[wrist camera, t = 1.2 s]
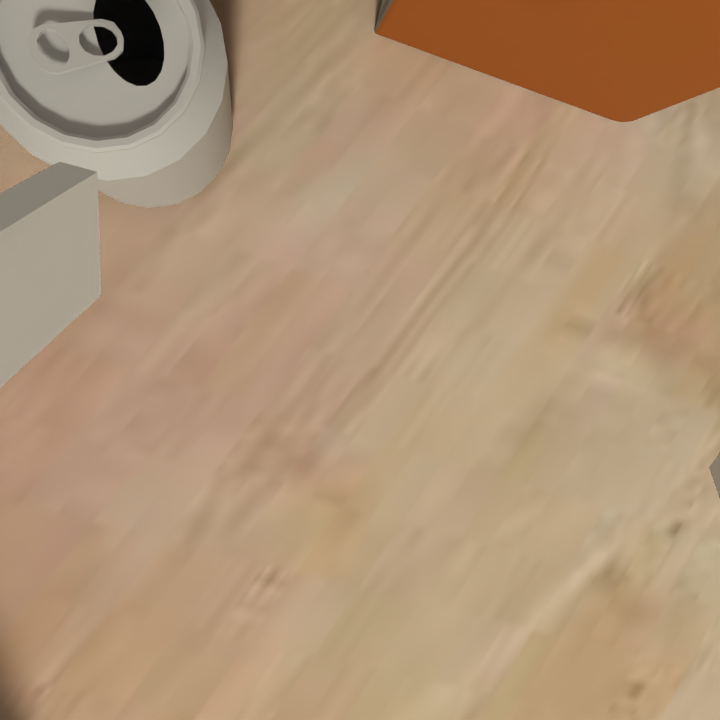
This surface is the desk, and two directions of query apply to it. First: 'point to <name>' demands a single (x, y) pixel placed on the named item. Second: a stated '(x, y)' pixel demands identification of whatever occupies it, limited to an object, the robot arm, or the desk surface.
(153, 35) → the can
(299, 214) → the desk surface
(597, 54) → the alarm clock
